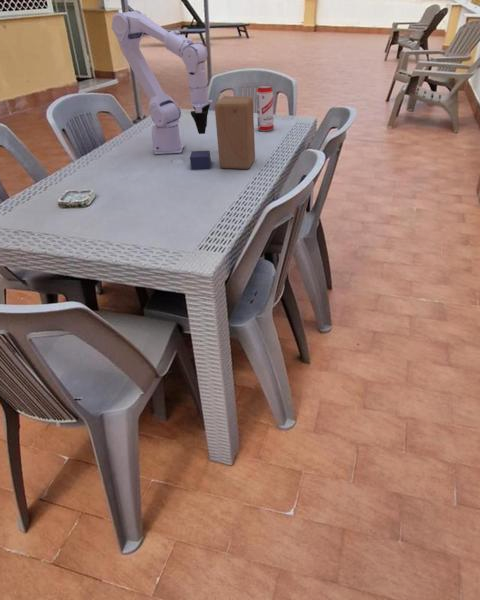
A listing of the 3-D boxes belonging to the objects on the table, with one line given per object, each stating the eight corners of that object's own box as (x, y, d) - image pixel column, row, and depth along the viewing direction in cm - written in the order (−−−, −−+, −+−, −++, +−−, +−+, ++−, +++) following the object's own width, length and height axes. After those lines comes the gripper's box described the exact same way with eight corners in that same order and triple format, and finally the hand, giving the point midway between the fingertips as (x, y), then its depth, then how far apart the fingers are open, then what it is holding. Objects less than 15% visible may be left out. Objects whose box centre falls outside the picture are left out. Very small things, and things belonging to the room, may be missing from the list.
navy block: (191, 169, 149) (189, 157, 146) (193, 163, 154) (191, 151, 151) (210, 168, 149) (208, 156, 146) (210, 162, 154) (209, 150, 151)
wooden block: (249, 170, 146) (246, 103, 135) (219, 169, 148) (213, 103, 137) (255, 159, 154) (253, 95, 143) (227, 158, 156) (222, 95, 145)
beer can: (255, 129, 185) (253, 86, 175) (269, 126, 187) (268, 84, 177) (262, 133, 180) (260, 88, 171) (276, 130, 182) (275, 86, 173)
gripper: (209, 90, 142) (213, 135, 150) (211, 81, 153) (215, 124, 161) (186, 91, 142) (191, 136, 149) (190, 82, 153) (195, 124, 161)
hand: (202, 130), depth 155 cm, fingers open, 7 cm apart
